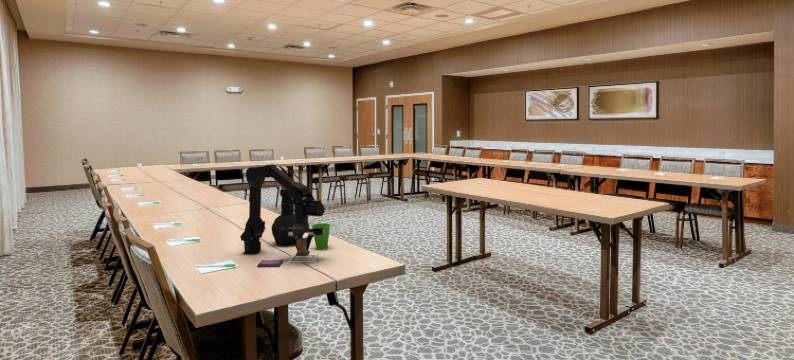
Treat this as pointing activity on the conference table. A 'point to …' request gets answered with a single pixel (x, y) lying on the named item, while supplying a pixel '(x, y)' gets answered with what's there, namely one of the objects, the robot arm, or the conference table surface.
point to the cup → (322, 236)
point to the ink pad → (270, 263)
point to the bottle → (284, 219)
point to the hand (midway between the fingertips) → (302, 250)
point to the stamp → (302, 247)
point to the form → (302, 259)
